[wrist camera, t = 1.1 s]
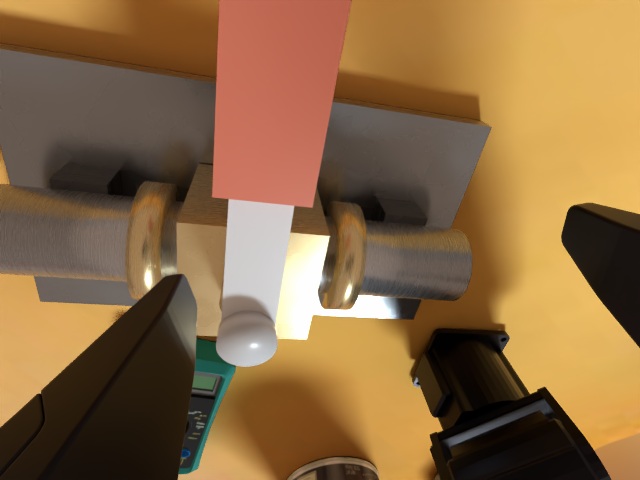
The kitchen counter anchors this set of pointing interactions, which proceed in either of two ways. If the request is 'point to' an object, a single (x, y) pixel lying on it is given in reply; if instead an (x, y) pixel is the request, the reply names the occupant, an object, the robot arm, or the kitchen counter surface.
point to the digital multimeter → (204, 401)
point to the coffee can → (336, 470)
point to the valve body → (212, 213)
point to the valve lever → (268, 150)
